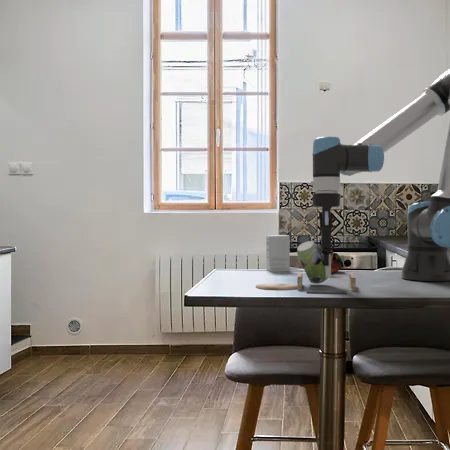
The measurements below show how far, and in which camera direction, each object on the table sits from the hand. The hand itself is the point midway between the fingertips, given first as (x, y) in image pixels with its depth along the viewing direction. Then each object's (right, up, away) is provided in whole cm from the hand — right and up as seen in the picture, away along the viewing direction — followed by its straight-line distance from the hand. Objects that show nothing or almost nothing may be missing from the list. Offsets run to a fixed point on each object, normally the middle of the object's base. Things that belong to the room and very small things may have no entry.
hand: (325, 277), depth 164 cm
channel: (-1, -2, -5) cm, 6 cm away
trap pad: (-2, -3, -15) cm, 15 cm away
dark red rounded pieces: (+11, -3, +35) cm, 37 cm away
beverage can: (-2, -2, +2) cm, 3 cm away
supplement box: (-10, -2, +42) cm, 43 cm away
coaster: (-14, -2, -4) cm, 15 cm away
